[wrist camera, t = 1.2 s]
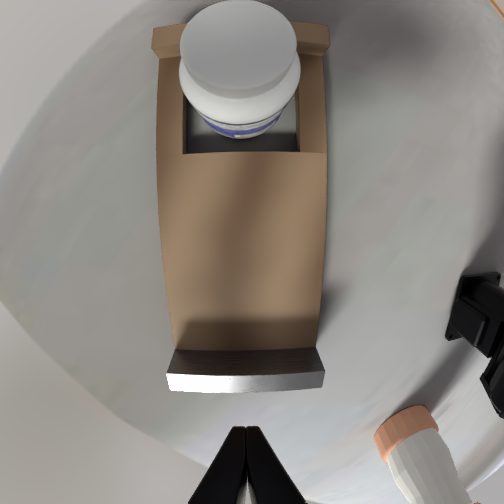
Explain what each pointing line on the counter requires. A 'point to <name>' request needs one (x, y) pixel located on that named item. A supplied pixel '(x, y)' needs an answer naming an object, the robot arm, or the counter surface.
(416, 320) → the counter surface
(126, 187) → the counter surface
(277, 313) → the brown long shallow piece
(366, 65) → the counter surface
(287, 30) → the pill bottle
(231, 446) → the robot arm
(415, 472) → the pepper shaker
